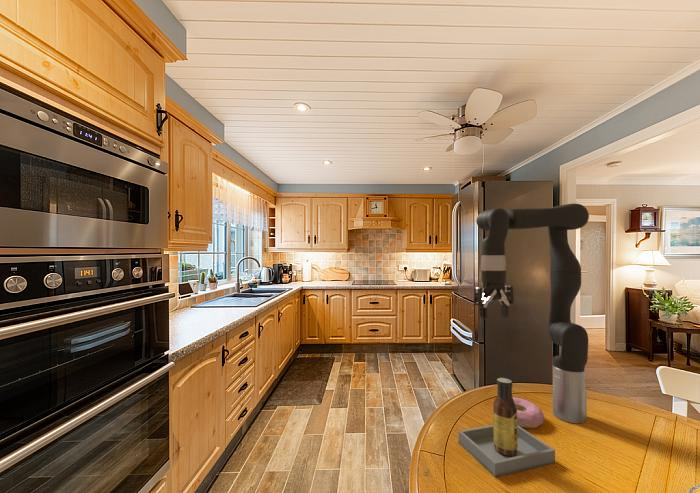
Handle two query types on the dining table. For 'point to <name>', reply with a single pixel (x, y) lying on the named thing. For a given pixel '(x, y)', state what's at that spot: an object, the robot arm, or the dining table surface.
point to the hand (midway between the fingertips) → (494, 317)
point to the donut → (528, 414)
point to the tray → (497, 464)
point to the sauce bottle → (505, 419)
